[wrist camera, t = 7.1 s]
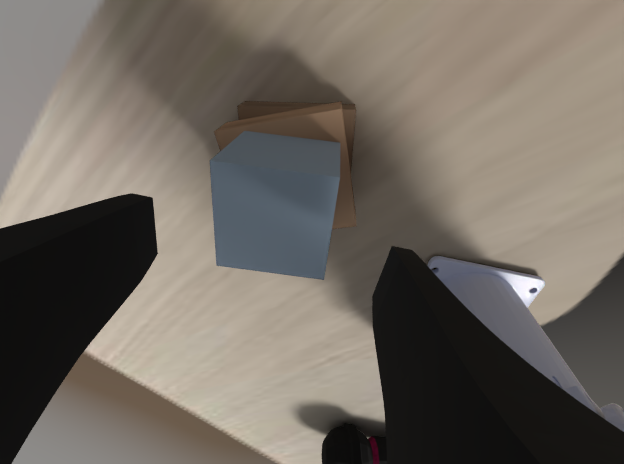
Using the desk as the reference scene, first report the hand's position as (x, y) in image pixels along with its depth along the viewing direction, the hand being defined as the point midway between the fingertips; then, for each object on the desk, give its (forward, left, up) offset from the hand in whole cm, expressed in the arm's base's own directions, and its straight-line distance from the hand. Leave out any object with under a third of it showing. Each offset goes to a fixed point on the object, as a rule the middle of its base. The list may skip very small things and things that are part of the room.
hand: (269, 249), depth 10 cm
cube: (-1, 0, -7) cm, 7 cm away
